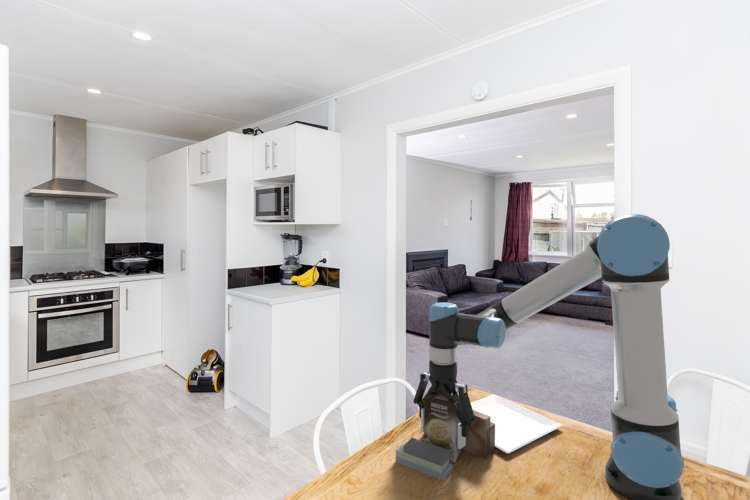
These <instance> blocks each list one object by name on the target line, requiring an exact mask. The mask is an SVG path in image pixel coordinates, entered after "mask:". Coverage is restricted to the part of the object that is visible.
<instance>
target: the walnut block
mask: <svg viewBox="0 0 750 500" xmlns="http://www.w3.org/2000/svg"><path fill="white" fill-rule="evenodd" d="M473 413H474V416H475V420H476V422H475V423H473V424H472V425H470V426H469V429H468V435H467V436H466V445H465V446H464V447H463V448H461V450H462V449H463V450H464V451H467V452H469V453H471V454H473V455H476V456H477V457H480V458H482V459H484V460H487V459H488V458H490V456H491V455H493V454H494V453H495V451H496V450H495V449H496V447H495V423H493V422H490V419H491V416H488V415H485V414H483V413H480V412H477V411H475V410H473Z"/></svg>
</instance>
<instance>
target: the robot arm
mask: <svg viewBox="0 0 750 500" xmlns="http://www.w3.org/2000/svg"><path fill="white" fill-rule="evenodd" d="M669 237H670V236H669V235H668V232H667V231H666V229H665V227H663V225H662V224H661V223H660V222H659V221H657V220H656V219H655V218H652V217H649V216H647V215H643V214H640V213H639V214H637V213H636V214H634V213H633V214H631V213H630V214H626V215H620V216H618V217H616V218H614V219H612V220H610V221H608V223H606V224H605V225H604V226H603V228H602V229H601V231H600V233H599V234H598V236H597V237H595V238H593V239H592V240H590V241H588V242H587V244H586V246H585V247H586V248H585V249H583V250H581V251H579V252H578V253H576V254H575V255H574V256H571V257H570V258H568V259H567V260H565V261H563V262H562V263H559V264H558V265H557V266H555V267H554V268H551V269H550V270H548V271H547V272H545V273H544V274H542V275H539V276H538V277H537V278H535V279H533V280H532V281H531V282H529V283H527V284H525V285H523V286H522V287H520V288H518V289H517V290H516V291H514V292H513V293H510V294H509V295H506V297H504V298H503V299H501V300H499V301H498V302H496V303H494V304H492V305H490V306H489V307H487V308H486V309H484V310H482V311H481V312H479V313H477V314H470V313H468V314H467V313H463V312H459V307H458V305H457V304H455V303H452V302H443V301H442V302H434V303H433V304H431V305H430V307H429V317H428V323H429V324H428V325H429V328H428V329H429V333H428V334H429V341H428V342H429V345H428V359H429V361H428V362H429V363H428V371H425V372H422V373H421V374H420V377H419V380H420V381H419V383H418V386H417V388H416V392H415V395H414V398H413V401H412V402H413V403H414V404H417V407H418V408H419V409H418V410H419V411H418V412H419V415H418V417H419V419H420V432H422V433H424V405H425V397H426V396H427V394H428V393H429V394H433V393H435V392H436V393H437V394H441V395H443V396H445V397H447V399H448V400H449V401H450V402H453V403H456V402H458V401H459V402H458V404H457V406H456V415H457V417H458V419H459V421H460V423H459V424H458V449H461V450H462V448H463V447H464V446H465V445H466V436H467V435H468V429H469V426H470V425H472V424H473V423H475V422H476V420H475V416H474V413H473V410H472V406H471V403H472V402H471V399H470V397H469V393H468V392H469V391H468V385H467V383H463V384H462V383H461V384H460V383H458V381H457V376H458V362H457V360H458V343H464V344H467V345H468V344H469V345H473V346H478V347H483V348H487V349H488V348H490V349H491V348H493V349H500V348H501V347H503V344H504V342H505V338H506V330H508V329H511V328H512V327H514V326H516V325H517V324H518V323H519V324H520V323H521V322H522V321H525V320H526V319H528V318H530V317H531V316H533V315H535V314H538V313H539V312H541V311H543V310H544V309H546V308H548V307H550V306H552V305H554V304H555V303H557V302H558V301H561V300H563V299H565V298H566V297H568V296H570V295H572V294H573V293H576V292H577V291H578V290H579V291H580V290H581V289H582V288H585V287H586V286H588V285H590V284H592V283H594V282H595V281H597V280H599V279H601V281H602V283H604V284H605V286H607V287H608V288H609V289H610V296H611V297H610V298H611V307H612V308H611V309H612V310H611V313H612V325H613V339H614V356H615V369H616V372H615V373H616V385H617V391H616V397H614V398H615V401H614V402H613V403H611V405H610V415H611V432H612V442H611V445H610V451H611V452H610V456H609V457H608V460H607V462H606V463H605V467H604V468H605V469H604V470H605V472H604V478H605V480H606V482H607V483H608V484H609V485H610V487H611V488H612V489H614V490H615V491H617V493H619V494H620V495H622V496H623V497H625V498H628V499H630V500H682V495H683V494H682V493H683V489H682V485H681V481H680V479H681V477H682V476H683V471H684V469H685V460H684V457H683V455H682V451H681V438H680V437H681V436H680V434H681V433H680V422H679V421H680V419H679V415H678V413H677V412H678V409H677V402H676V401H675V399H674V398H673V397H671V396H669V395H668V383H667V382H668V381H667V365H666V363H667V362H666V353H665V348H666V347H665V338H664V337H665V335H664V319H663V309H662V308H663V306H662V305H663V304H662V292H661V291H662V290H661V289H662V288H663V287H664V286H665V285H666V284H668V283H669V282H670V265H669V251H670V249H671V247H670V246H671V243H670V238H669ZM429 382H430V384H431V386H430V387H429V388H428V390H427V386H428V385H429V384H428V383H429ZM426 390H427V392H426ZM425 392H426V393H425ZM450 394H453V395H452V396H451V395H450ZM458 395H459V398H458ZM459 399H460V400H459Z"/></svg>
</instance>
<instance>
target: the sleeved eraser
mask: <svg viewBox="0 0 750 500" xmlns="http://www.w3.org/2000/svg"><path fill="white" fill-rule="evenodd" d="M449 458H450V450H447V449H444V448H441V447H438V446H435V445H432V444H430V443H427V442H424V440H421V439H417V438H414V437H411V438H410V439H409V440H408V441H406V440H405V441H403V442H402V443H401V444H400V445H399V446H398V447H397V448H396V449H395V463H398V464H401V465H403V466H404V467H408V468H411V469H413V470H415V471H418V472H420V473H423V474H426V475H429V476H430V477H431V476H432V477H434V478H435V479H439V480H440V481H441V480H442V481H445V482H446V480H447V478H448V477H449V476H450V475H451V473H452V472H453V470H454V465H453V463H451V462H449Z"/></svg>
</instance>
